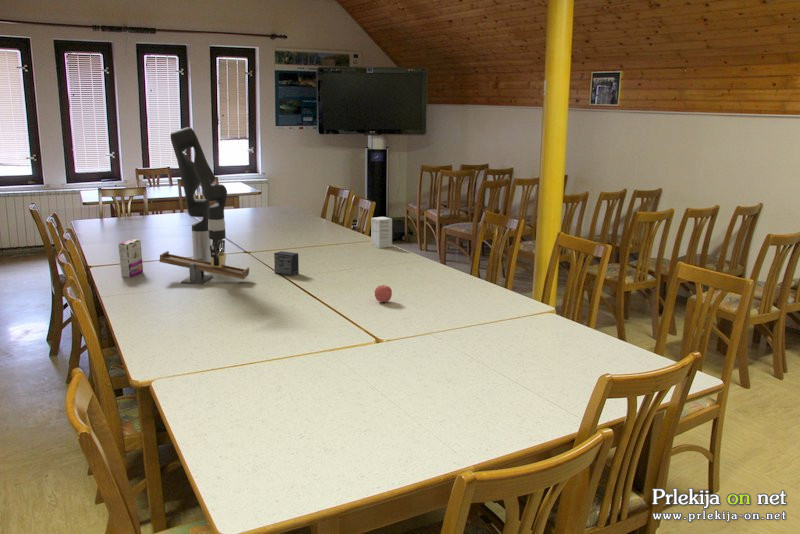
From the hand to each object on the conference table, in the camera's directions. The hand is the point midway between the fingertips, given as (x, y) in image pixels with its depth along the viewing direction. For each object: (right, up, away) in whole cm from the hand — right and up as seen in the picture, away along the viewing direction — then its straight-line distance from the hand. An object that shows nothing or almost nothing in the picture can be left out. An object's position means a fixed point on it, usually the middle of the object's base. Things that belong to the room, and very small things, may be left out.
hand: (218, 264), depth 316 cm
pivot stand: (-11, -8, +3) cm, 13 cm away
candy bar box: (-44, -5, +10) cm, 46 cm away
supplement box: (+74, +11, +85) cm, 113 cm away
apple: (+77, -17, -25) cm, 83 cm away
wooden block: (-1, -2, 0) cm, 2 cm away
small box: (+29, -5, +18) cm, 34 cm away
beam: (-7, -2, +1) cm, 7 cm away
